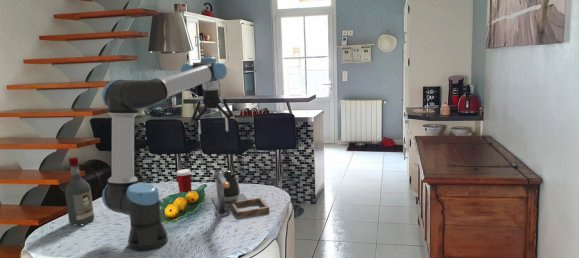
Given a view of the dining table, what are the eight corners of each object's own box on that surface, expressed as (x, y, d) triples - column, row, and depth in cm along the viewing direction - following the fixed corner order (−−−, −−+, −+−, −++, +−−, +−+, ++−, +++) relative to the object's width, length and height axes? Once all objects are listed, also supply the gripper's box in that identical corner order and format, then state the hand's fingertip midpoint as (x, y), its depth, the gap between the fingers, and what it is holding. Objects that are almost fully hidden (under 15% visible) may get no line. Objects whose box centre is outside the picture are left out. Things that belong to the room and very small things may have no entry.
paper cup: (195, 194, 240) (193, 168, 238) (191, 199, 233) (188, 173, 230) (181, 194, 241) (178, 169, 239) (176, 199, 234) (173, 173, 231)
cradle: (237, 217, 206) (237, 212, 205) (231, 207, 220) (230, 202, 219) (269, 212, 210) (269, 207, 210) (261, 202, 224) (260, 197, 224)
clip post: (216, 217, 207) (213, 180, 204) (214, 212, 213) (211, 176, 210) (230, 215, 209) (227, 178, 206) (227, 210, 215) (224, 174, 212)
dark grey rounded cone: (230, 205, 220) (228, 175, 217) (215, 201, 226) (212, 172, 223) (244, 199, 228) (242, 169, 225) (229, 195, 234) (227, 166, 231)
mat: (217, 209, 217) (217, 208, 217) (212, 199, 232) (211, 197, 232) (250, 204, 222) (250, 203, 222) (243, 194, 237) (242, 193, 237)
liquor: (66, 223, 209) (57, 159, 203) (83, 216, 216) (75, 154, 211) (80, 226, 204) (71, 161, 199) (97, 219, 212) (88, 156, 207)
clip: (213, 175, 209) (213, 171, 209) (223, 174, 210) (222, 170, 210) (221, 188, 189) (221, 184, 189) (232, 187, 191) (231, 183, 190)
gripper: (185, 91, 217) (189, 136, 221) (237, 88, 225) (240, 130, 229) (183, 90, 224) (187, 133, 228) (234, 87, 232) (236, 128, 236)
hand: (213, 132), depth 228 cm, fingers open, 13 cm apart
